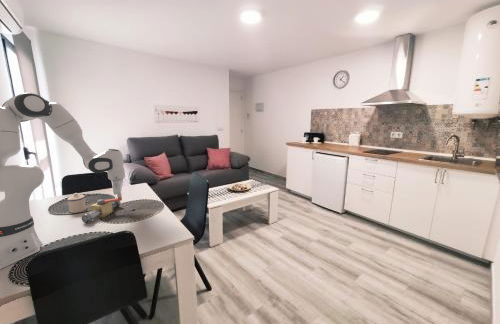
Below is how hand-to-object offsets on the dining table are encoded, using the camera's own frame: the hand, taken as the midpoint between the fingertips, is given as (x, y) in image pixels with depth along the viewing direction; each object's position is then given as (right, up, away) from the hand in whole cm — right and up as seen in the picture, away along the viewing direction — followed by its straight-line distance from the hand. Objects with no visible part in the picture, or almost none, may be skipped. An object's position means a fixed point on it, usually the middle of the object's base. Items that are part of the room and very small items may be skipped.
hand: (119, 196), depth 134 cm
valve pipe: (-10, -11, 0) cm, 15 cm away
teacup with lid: (-31, -10, +6) cm, 33 cm away
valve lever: (-6, -3, 0) cm, 7 cm away
